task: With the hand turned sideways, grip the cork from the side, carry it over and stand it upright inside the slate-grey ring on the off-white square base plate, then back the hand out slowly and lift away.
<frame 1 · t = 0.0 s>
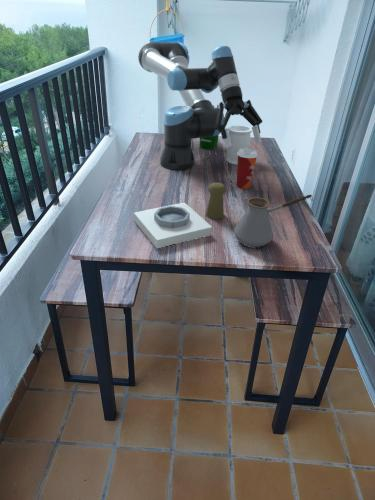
hand: (244, 145, 136), 15 cm above the table, tool tilted 35°, fingers open, 13 cm apart
jar: (236, 162, 164), on the table
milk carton: (208, 147, 181), on the table
base plate: (171, 228, 112), on the table
coffee pot: (268, 241, 108), on the table
paper cup: (243, 186, 142), on the table
cork: (214, 215, 121), on the table
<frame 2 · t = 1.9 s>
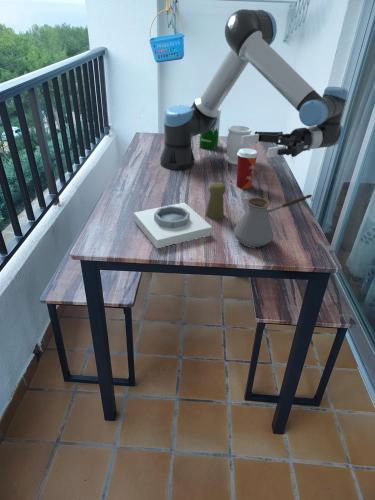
hand: (254, 146, 114), 22 cm above the table, tool horizontal, fingers open, 13 cm apart
nothing on the table moved.
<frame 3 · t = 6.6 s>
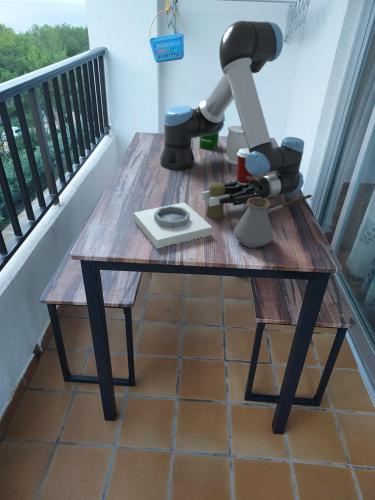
hand: (206, 199, 115), 7 cm above the table, tool horizontal, fingers closed on cork, 4 cm apart
cork: (214, 215, 121), on the table, touching gripper
everything else where it was.
when the fingers open (10 cm above the table, at t = 11.1 s): cork moves 2 cm, resting on base plate.
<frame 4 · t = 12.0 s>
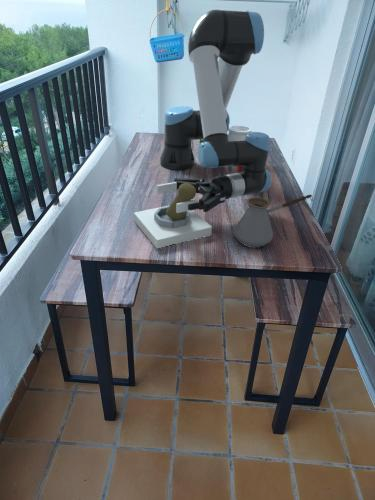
hand: (166, 198, 106), 10 cm above the table, tool horizontal, fingers open, 13 cm apart
cork: (175, 214, 109), point 5 cm above the table, touching base plate, gripper
everything else where it was.
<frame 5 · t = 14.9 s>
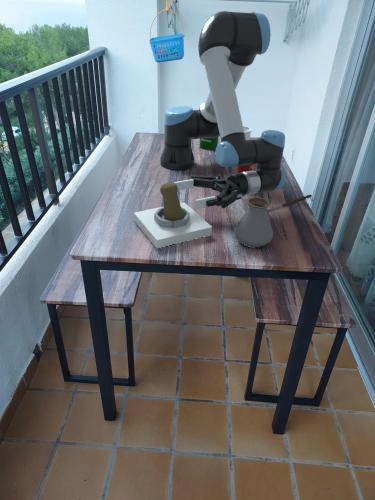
hand: (184, 195, 108), 11 cm above the table, tool horizontal, fingers open, 13 cm apart
cork: (174, 218, 110), point 4 cm above the table, touching base plate
everything else where it was.
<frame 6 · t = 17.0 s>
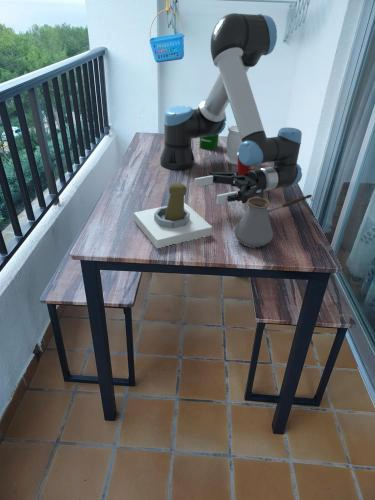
hand: (205, 190, 111), 11 cm above the table, tool horizontal, fingers open, 13 cm apart
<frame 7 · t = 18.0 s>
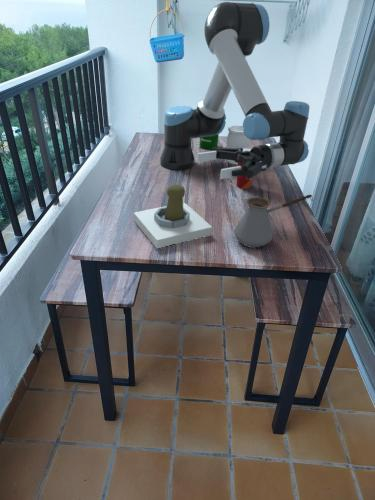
hand: (208, 165, 106), 19 cm above the table, tool horizontal, fingers open, 13 cm apart
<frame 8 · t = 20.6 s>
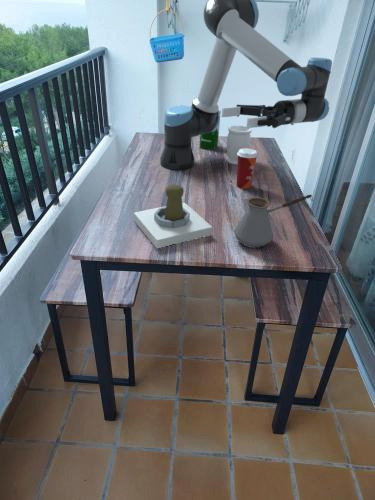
hand: (234, 117, 110), 30 cm above the table, tool horizontal, fingers open, 13 cm apart
at the end: cork inside the target area on the base plate (0.9 cm from its centre), point 3.3 cm above the base plate's base; cork tilted 1°; the gripper is holding nothing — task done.
